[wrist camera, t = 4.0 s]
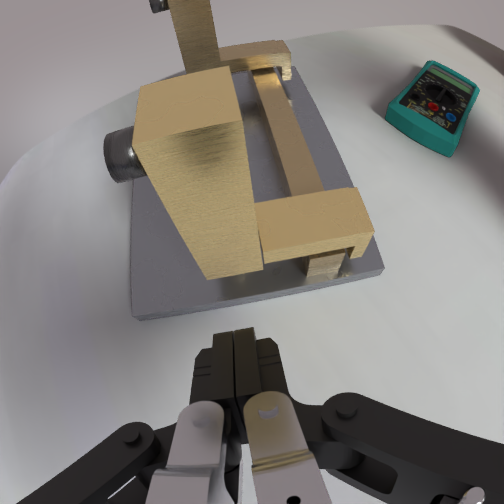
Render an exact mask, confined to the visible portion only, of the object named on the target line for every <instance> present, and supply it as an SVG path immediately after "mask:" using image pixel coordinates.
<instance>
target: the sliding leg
mask: <svg viewBox="0 0 504 504" xmlns="http://www.w3.org/2000/svg"><path fill="white" fill-rule="evenodd" d="M104 157H105V162H106V166H107V169H108V171H109V173H110V175H111V177H112V178H113V180H114V181H115V182H117V183H122V182H126V181H129V180H133V179H137V178H140V177H144V176H148V177H149V179H150V181H151V183H152V184H153V186H154V188H155V190H156V192H157V194H158V195H159V197H160V199H161V201H162V203H163V204H164V206H165V208H166V210H167V212H168V213H169V215H170V217H171V219H172V221H173V222H174V224H175V226H176V228H177V229H178V231H179V233H180V235H181V236H182V238H183V240H184V242H185V243H186V245H187V247H188V249H189V250H190V252H191V254H192V255H193V257H194V259H195V261H196V262H197V264H198V266H199V267H200V269H201V271H202V272H203V274H204V276H205V277H206V279H207V280H212V279H217V278H222V277H228V276H233V275H238V274H244V273H249V272H254V271H259V270H263V263H262V256H261V249H262V254H263V259H264V264H266V263H271V262H276V261H282V260H287V259H292V258H297V257H302V256H307V255H312V254H317V253H322V252H327V251H332V250H337V249H342V248H346V250H347V254H348V257H349V259H353V258H357V257H362V255H363V253H364V251H365V249H366V248H367V246H368V244H369V242H370V240H371V238H372V236H373V234H374V232H375V231H374V228H373V226H372V223H371V221H370V218H369V215H368V213H367V210H366V208H365V205H364V203H363V201H362V198H361V196H360V193H359V191H358V189H357V187H354V188H349V187H347V188H340V189H334V190H328V191H322V192H316V193H310V194H304V195H298V196H292V197H286V198H281V199H275V200H269V201H264V202H259V203H254V198H253V191H252V184H251V177H250V170H249V163H248V156H247V149H246V142H245V135H244V128H243V121H242V117H241V112H240V108H239V104H238V100H237V96H236V92H235V88H234V84H233V80H232V76H231V72H230V69H229V66H225V67H219V68H214V69H209V70H204V71H199V72H195V73H190V74H186V75H182V76H178V77H174V78H170V79H166V80H162V81H159V82H155V83H151V84H148V85H144V86H141V87H140V92H139V98H138V104H137V111H136V117H135V125H134V126H131V127H128V128H124V129H121V130H118V131H115V132H112V133H109V134H107V135H106V137H105V139H104ZM259 240H260V241H259ZM260 244H261V248H260Z"/></svg>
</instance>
